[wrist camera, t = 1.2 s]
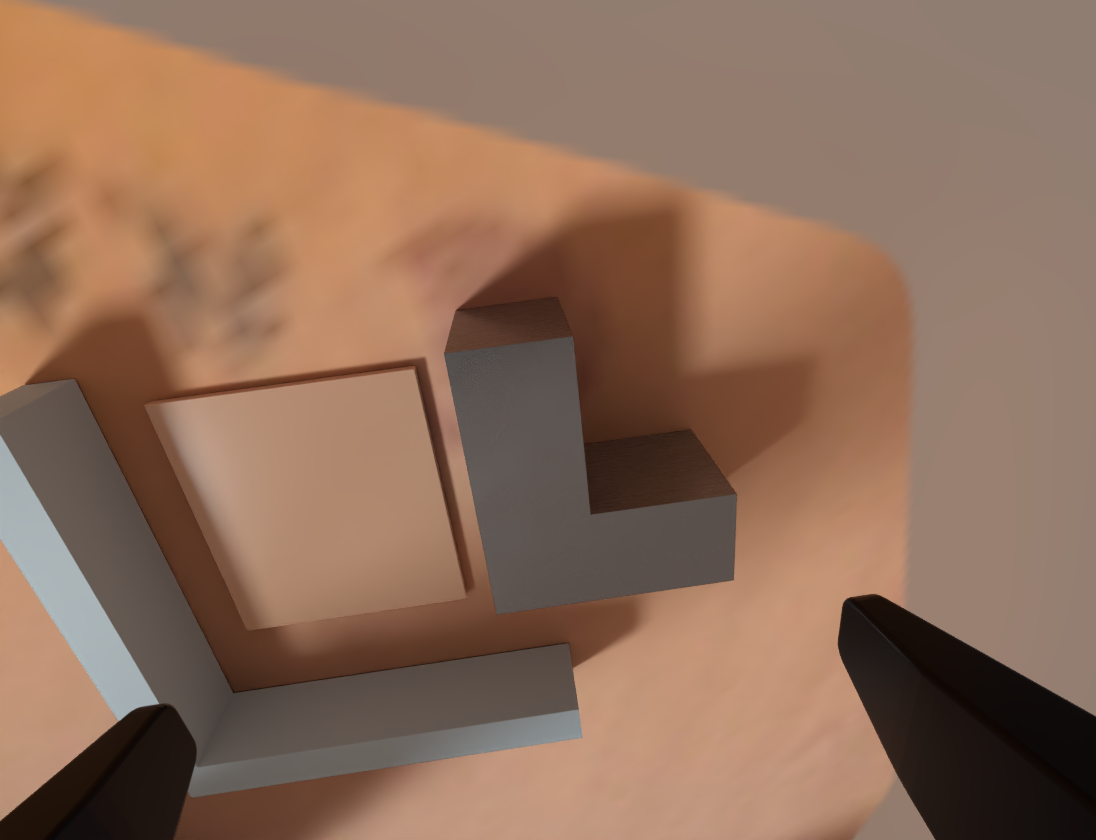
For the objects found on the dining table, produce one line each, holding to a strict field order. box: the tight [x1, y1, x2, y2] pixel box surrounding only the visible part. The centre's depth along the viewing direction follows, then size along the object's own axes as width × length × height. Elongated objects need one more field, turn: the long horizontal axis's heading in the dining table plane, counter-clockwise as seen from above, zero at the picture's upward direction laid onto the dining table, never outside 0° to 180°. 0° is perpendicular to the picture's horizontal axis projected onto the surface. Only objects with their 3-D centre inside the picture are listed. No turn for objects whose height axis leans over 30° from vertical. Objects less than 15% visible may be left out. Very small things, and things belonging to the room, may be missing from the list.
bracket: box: [444, 297, 737, 615], centre depth 17 cm, size 8×7×4 cm
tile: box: [144, 366, 467, 631], centre depth 19 cm, size 9×8×1 cm
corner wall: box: [0, 379, 582, 798], centre depth 19 cm, size 15×15×3 cm
